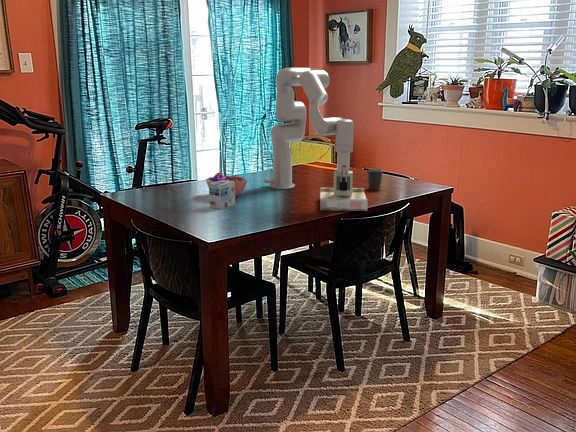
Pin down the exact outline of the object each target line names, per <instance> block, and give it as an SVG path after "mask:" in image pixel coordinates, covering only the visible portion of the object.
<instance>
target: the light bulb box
mask: <svg viewBox="0 0 576 432" xmlns="http://www.w3.org/2000/svg"><path fill="white" fill-rule="evenodd" d="M208 195H209V196H208V197H209V198H208V199H209V202H208V203H209V208H211V209H212V208H213V209H217V210H218V209H219V210H223V209H226V208H229V207H232V206H235V205H236V196H235V181H229V180H220V181H217V182H213V183H209V188H208Z"/></svg>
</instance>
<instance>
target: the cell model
mask: <svg viewBox="0 0 576 432" xmlns="http://www.w3.org/2000/svg"><path fill="white" fill-rule="evenodd" d="M223 174H224V173H222V172H221V171H219V172H217V173H215V174H214V175H213V176H210V177H207V178H206V179H205V182H206V184H207V188H208V189H209V183H213V182H217V181H220V180H229V181H235V197H237V196H238V195H240V194H242V192H244V190H245V188H246V186H247V182H248V179H246V178H244V177H242V176H237V175H223Z"/></svg>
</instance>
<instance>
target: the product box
mask: <svg viewBox="0 0 576 432" xmlns="http://www.w3.org/2000/svg"><path fill="white" fill-rule="evenodd" d="M353 172H354V171H353V170H349V174H348V175H347V191H340V175H343V173H341V174H339V175H338V174H337V170H334V171H333V188H334V195H344V196H352V188H353V182H354V181H353V180H354V179H353V178H354V176H353V175H354V173H353ZM342 177H343V176H342Z"/></svg>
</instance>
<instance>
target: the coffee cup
mask: <svg viewBox="0 0 576 432" xmlns="http://www.w3.org/2000/svg"><path fill="white" fill-rule="evenodd" d="M366 172H367V179H368V190H370V191H379V189H380V190H381V185H382V178H383V177H382V176H383V173H384V171H383V169H378V168H370V169H368V170H366Z"/></svg>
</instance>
